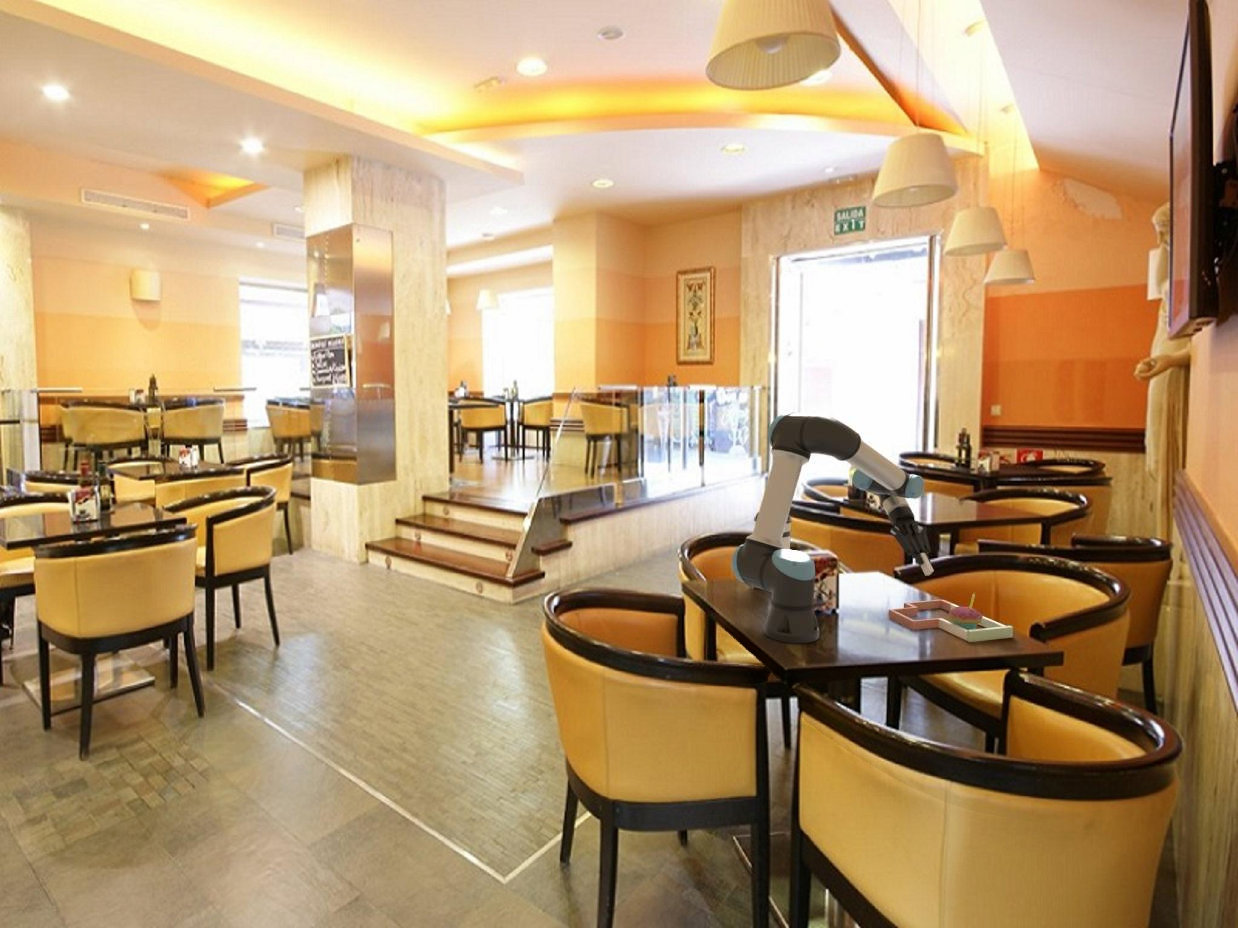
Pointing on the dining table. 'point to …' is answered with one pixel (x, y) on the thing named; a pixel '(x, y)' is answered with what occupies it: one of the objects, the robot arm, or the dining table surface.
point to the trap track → (911, 609)
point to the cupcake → (966, 616)
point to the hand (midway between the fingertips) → (929, 573)
